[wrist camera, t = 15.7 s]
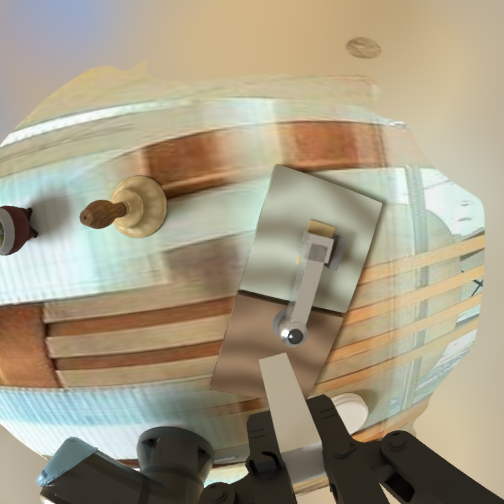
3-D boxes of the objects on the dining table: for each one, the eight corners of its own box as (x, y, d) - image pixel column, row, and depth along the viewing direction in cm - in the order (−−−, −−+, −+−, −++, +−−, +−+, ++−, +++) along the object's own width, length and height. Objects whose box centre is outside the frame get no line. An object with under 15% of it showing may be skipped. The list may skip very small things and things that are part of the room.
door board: (302, 397, 44) (308, 411, 40) (210, 383, 42) (209, 398, 38) (377, 202, 39) (390, 204, 35) (274, 165, 36) (280, 162, 32)
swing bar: (298, 338, 39) (304, 350, 36) (274, 335, 39) (278, 348, 35) (327, 236, 36) (338, 241, 33) (302, 230, 36) (310, 234, 32)
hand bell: (166, 173, 35) (126, 159, 20) (168, 236, 37) (132, 265, 21) (108, 178, 34) (43, 172, 19) (112, 239, 36) (50, 267, 20)
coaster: (367, 411, 47) (374, 421, 44) (324, 435, 47) (329, 446, 44) (354, 382, 45) (362, 394, 42) (305, 409, 45) (310, 422, 42)
